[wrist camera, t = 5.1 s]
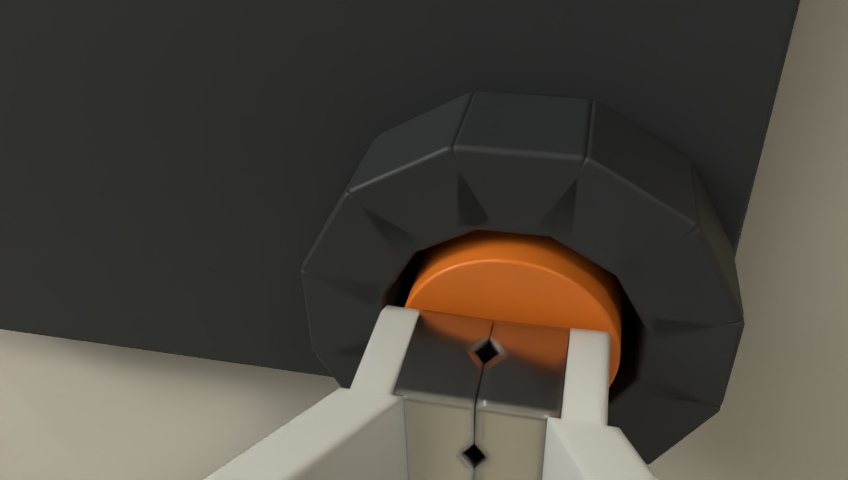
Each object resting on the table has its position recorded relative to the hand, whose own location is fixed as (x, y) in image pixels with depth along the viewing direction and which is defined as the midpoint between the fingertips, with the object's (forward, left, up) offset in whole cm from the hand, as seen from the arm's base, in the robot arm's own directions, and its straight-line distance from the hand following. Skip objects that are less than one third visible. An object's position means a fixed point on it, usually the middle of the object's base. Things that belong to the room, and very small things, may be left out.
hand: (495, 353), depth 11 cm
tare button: (0, 0, -2) cm, 2 cm away
